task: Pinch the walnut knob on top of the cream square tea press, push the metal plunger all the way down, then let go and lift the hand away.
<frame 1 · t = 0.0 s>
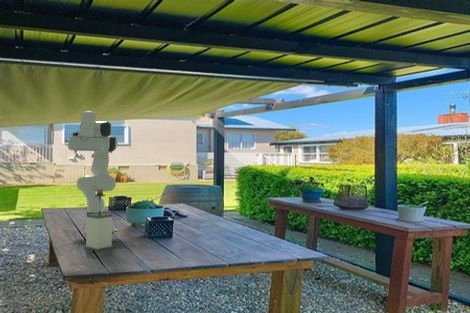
hand: (84, 157, 261), 52 cm above the table, tool tilted 20°, fingers open, 8 cm apart
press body: (98, 247, 251), on the table
plunger: (99, 205, 251), point 25 cm above the table, slide at 0.0 cm
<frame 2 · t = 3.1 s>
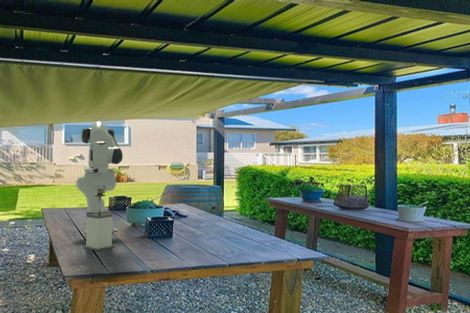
hand: (99, 193, 251), 31 cm above the table, tool pointing down, fingers closed on plunger, 3 cm apart
plunger: (99, 205, 251), point 25 cm above the table, slide at 0.0 cm, touching gripper
everything else where it was.
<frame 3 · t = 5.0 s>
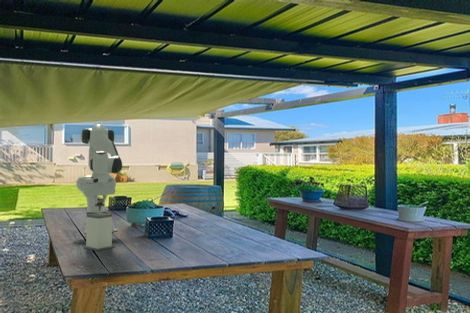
hand: (99, 203, 251), 26 cm above the table, tool pointing down, fingers closed on plunger, 3 cm apart
plunger: (99, 215, 251), point 19 cm above the table, slide at 5.6 cm, touching gripper
everything else where it was.
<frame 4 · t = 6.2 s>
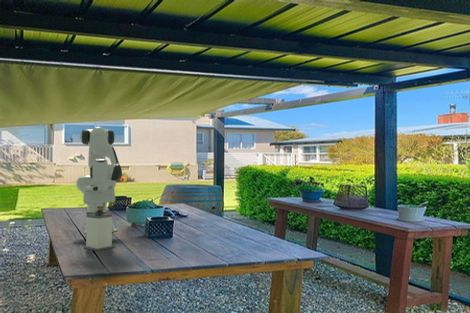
hand: (99, 210, 251), 21 cm above the table, tool pointing down, fingers closed on plunger, 3 cm apart
plunger: (99, 222, 251), point 14 cm above the table, slide at 10.1 cm, touching gripper
everything else where it was.
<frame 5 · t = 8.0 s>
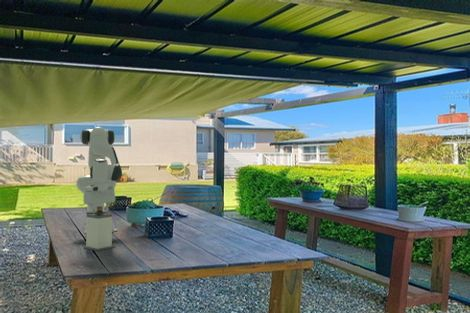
hand: (99, 211, 251), 21 cm above the table, tool pointing down, fingers open, 8 cm apart
plunger: (99, 222, 251), point 14 cm above the table, slide at 10.1 cm
everything else where it was.
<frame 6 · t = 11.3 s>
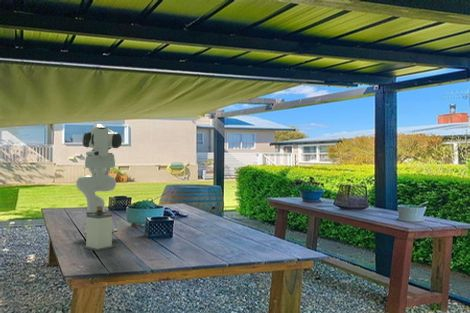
hand: (100, 175, 266), 41 cm above the table, tool pointing down, fingers open, 8 cm apart
nothing on the table moved.
at the end: plunger slide at 10.1 cm; the gripper is holding nothing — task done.
